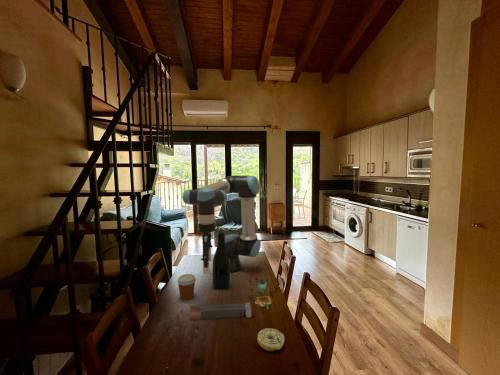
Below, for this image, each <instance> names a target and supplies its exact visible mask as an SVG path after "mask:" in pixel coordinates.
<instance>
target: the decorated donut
mask: <svg viewBox="0 0 500 375" xmlns="http://www.w3.org/2000/svg"><path fill="white" fill-rule="evenodd" d="M256 341H257V343H258V346H259V347H260V348H262V349H263V350H265V351H267V352H276V351H279V350H280V349H282V348H283V346H284V345H285V335H284V334H283V333H282V331H279V330H278V329H276V328H273V327H269V328H268V327H266V328H263V329H261V330H260V331H259V332H258V333H257V340H256Z"/></svg>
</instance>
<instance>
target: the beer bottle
mask: <svg viewBox="0 0 500 375" xmlns="http://www.w3.org/2000/svg"><path fill="white" fill-rule="evenodd" d="M216 236H217V242H216V244H217V245H216V250H215V251H214V252H215V253H214V255H213V257H212V274H211V276H212V288H213V289H214V290H216V291H217V290H218V291H219V290H220V291H225V290H228V289H230V287H231V272H230V259H229V255H228V253H227V250H226V247H225V236H226V233H225V232H224V231H223V230H222V231H218V232H217V235H216Z"/></svg>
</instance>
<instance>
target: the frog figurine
mask: <svg viewBox="0 0 500 375" xmlns="http://www.w3.org/2000/svg"><path fill="white" fill-rule="evenodd" d="M260 280H261V281H259V280H257V281H256V282H255V283H256V287H255V288H254V290H255V291H257V290H258V292H259V294H258V296H255V301H254V303H255V304H256V305H257V306H259V307H262V308H266V309H267V310H270V308H269V307H270V306H269V305H271V304H272V299H271V297H270V294H269V290H268V289H269V288H268V287H267V285H268V283H269V281H268V280H265V281H264V276H261V277H260ZM266 292H267V295H264V293H266ZM261 293H262V296H261Z"/></svg>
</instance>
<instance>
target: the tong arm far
mask: <svg viewBox="0 0 500 375" xmlns="http://www.w3.org/2000/svg"><path fill="white" fill-rule="evenodd" d="M239 306H240V307H241V306H244V307H245V302H244V303H243V302H240V303H238V302H236V303H235V302H234V303H221V304H206V305H205V304H204V305H192V306H190V309H202V308H221V307H239ZM190 309H189V310H190Z"/></svg>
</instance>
